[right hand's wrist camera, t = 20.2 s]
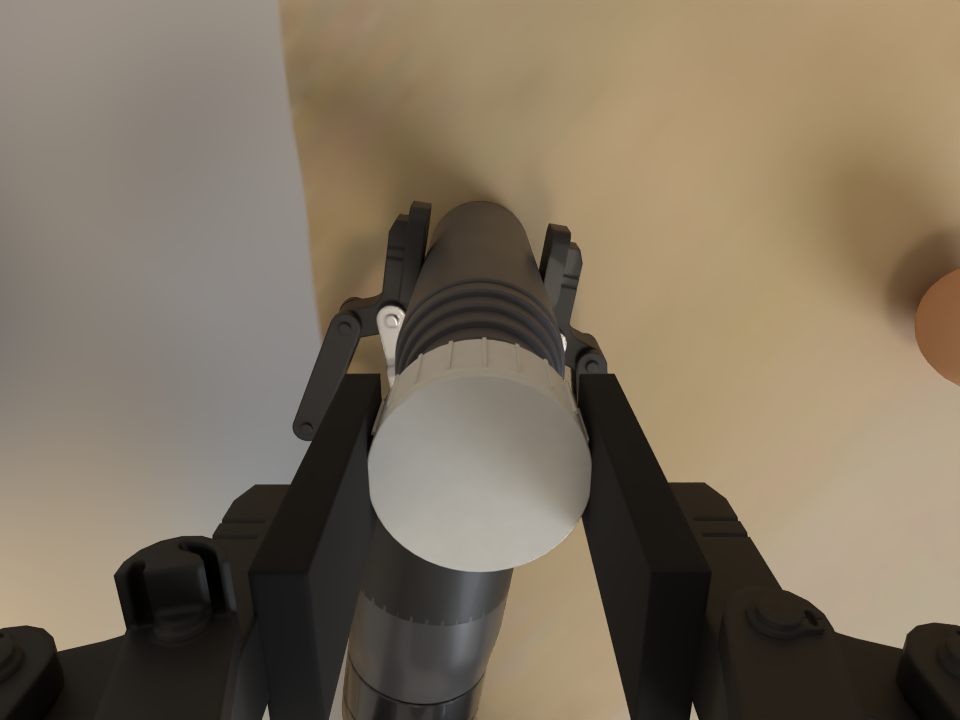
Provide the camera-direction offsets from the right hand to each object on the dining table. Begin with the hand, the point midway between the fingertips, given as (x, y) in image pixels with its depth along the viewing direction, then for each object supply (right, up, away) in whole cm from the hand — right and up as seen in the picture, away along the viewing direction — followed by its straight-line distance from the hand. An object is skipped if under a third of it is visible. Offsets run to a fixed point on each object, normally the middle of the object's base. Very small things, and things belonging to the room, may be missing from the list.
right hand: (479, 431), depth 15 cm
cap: (0, -1, -2) cm, 2 cm away
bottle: (0, +7, +18) cm, 19 cm away
